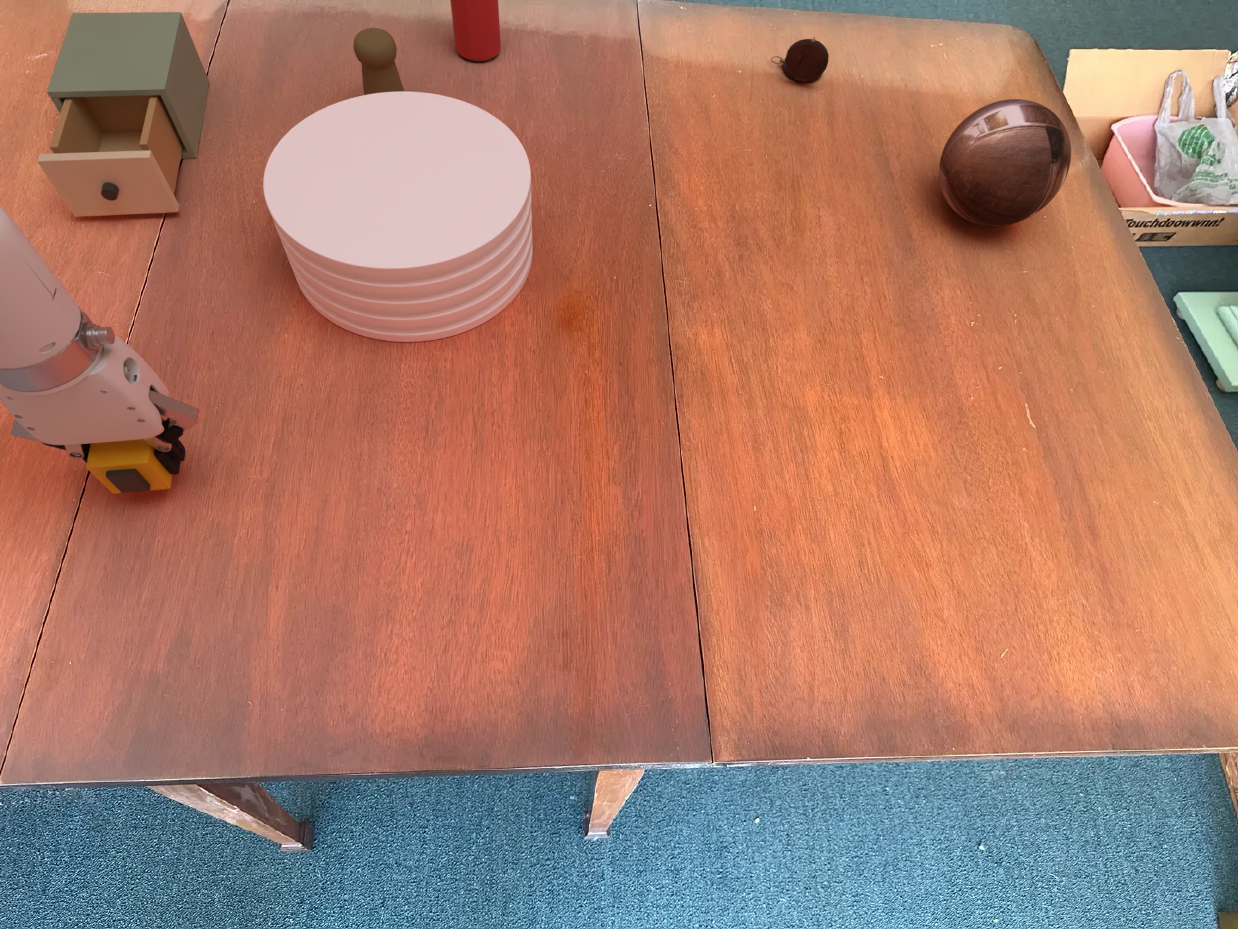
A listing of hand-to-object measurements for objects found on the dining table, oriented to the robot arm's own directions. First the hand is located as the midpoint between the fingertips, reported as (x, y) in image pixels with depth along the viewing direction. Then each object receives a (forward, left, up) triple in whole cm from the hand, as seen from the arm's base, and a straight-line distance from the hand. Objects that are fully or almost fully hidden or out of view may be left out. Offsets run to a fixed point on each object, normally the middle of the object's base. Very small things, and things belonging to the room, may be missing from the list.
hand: (143, 463), depth 73 cm
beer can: (+35, +69, -3) cm, 77 cm away
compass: (+82, +62, -3) cm, 103 cm away
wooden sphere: (+99, +31, -3) cm, 104 cm away
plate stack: (+25, +29, -3) cm, 38 cm away
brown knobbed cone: (+22, +55, -3) cm, 59 cm away
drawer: (-8, +43, -2) cm, 44 cm away
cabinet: (-8, +55, -3) cm, 55 cm away
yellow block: (0, 0, 0) cm, 0 cm away
